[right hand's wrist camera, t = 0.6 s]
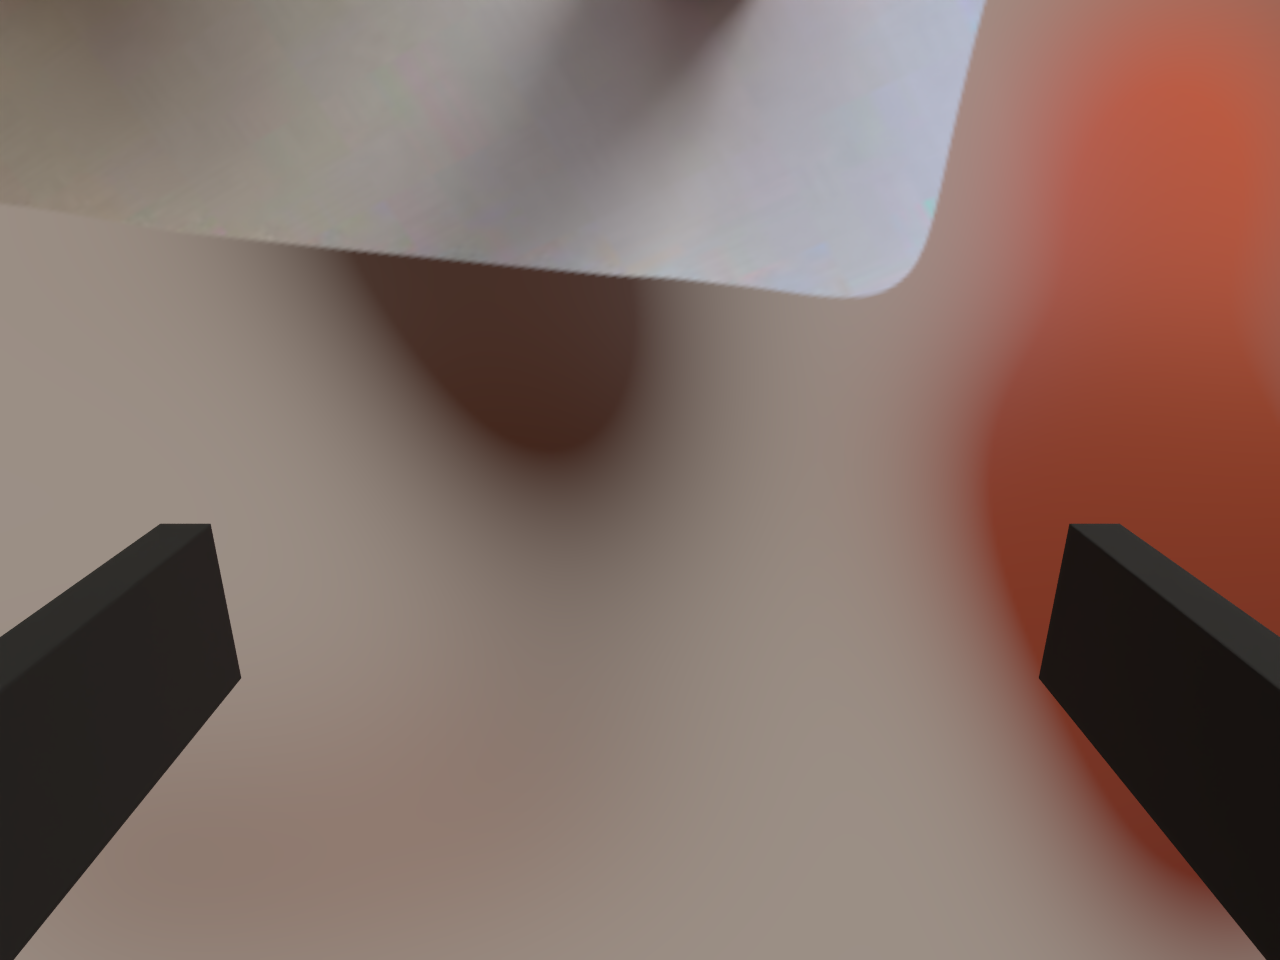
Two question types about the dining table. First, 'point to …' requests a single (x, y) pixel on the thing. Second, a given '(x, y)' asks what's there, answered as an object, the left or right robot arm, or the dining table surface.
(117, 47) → the dining table surface
